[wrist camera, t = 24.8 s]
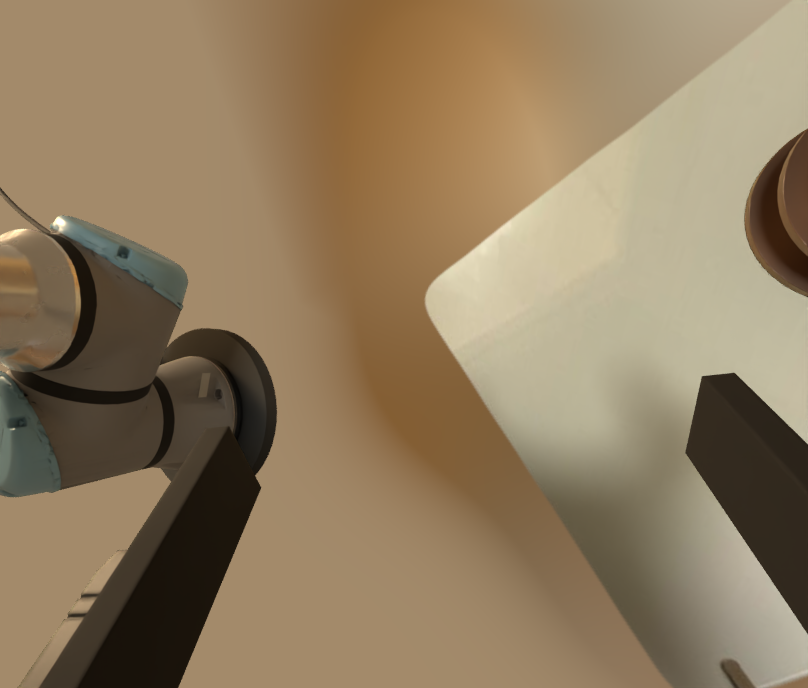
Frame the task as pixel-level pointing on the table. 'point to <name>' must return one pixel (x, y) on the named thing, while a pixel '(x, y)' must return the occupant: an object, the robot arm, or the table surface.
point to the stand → (782, 215)
